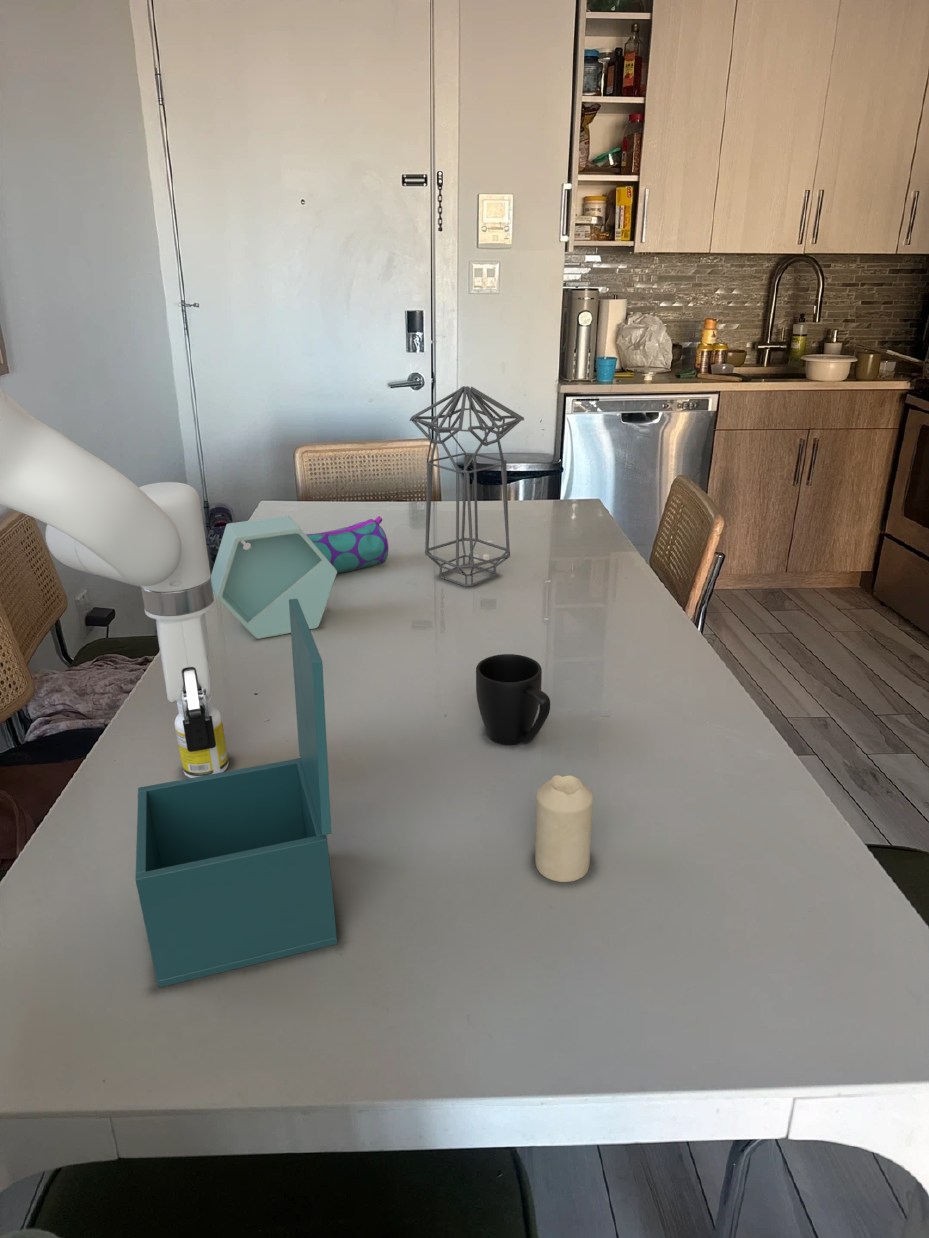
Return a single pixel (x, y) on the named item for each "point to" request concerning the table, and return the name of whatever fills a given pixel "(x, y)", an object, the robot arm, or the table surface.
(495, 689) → the mug
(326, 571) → the planter
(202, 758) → the supplement bottle
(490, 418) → the geometric lantern
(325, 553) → the pencil case
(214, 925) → the teal open box
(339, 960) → the table surface
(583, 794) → the candle
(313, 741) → the cool box lid
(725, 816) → the table surface
